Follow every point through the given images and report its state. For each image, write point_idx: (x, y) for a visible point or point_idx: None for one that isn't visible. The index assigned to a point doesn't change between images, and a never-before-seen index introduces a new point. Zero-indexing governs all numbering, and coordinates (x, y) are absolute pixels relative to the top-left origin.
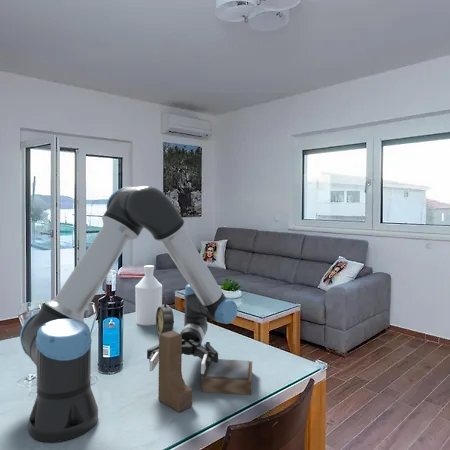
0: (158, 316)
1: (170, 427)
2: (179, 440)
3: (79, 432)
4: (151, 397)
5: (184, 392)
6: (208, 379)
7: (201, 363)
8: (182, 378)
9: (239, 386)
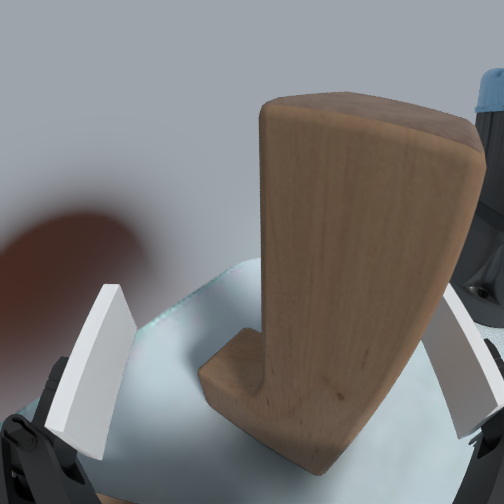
0: None
1: (258, 303)
2: (226, 271)
3: None
4: (388, 435)
5: (229, 344)
6: (122, 500)
7: (117, 285)
8: (252, 393)
9: None
